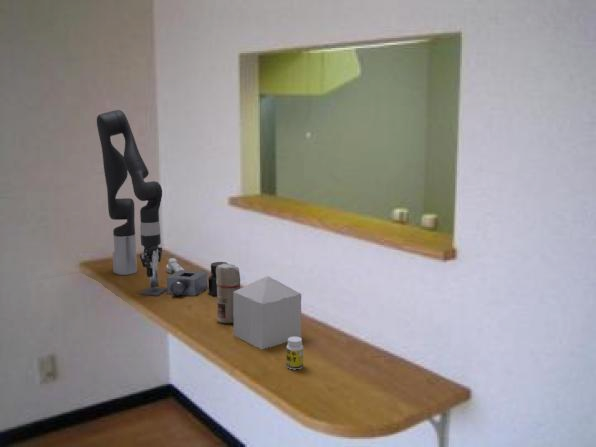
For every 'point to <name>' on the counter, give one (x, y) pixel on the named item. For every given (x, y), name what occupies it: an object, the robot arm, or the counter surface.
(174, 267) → the white elongated piece
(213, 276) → the ink bottle
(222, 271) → the spray can
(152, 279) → the grey metal cylinder
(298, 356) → the supplement bottle
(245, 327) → the decorative block
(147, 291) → the key rest mat
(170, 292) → the block
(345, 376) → the counter surface
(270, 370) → the counter surface
